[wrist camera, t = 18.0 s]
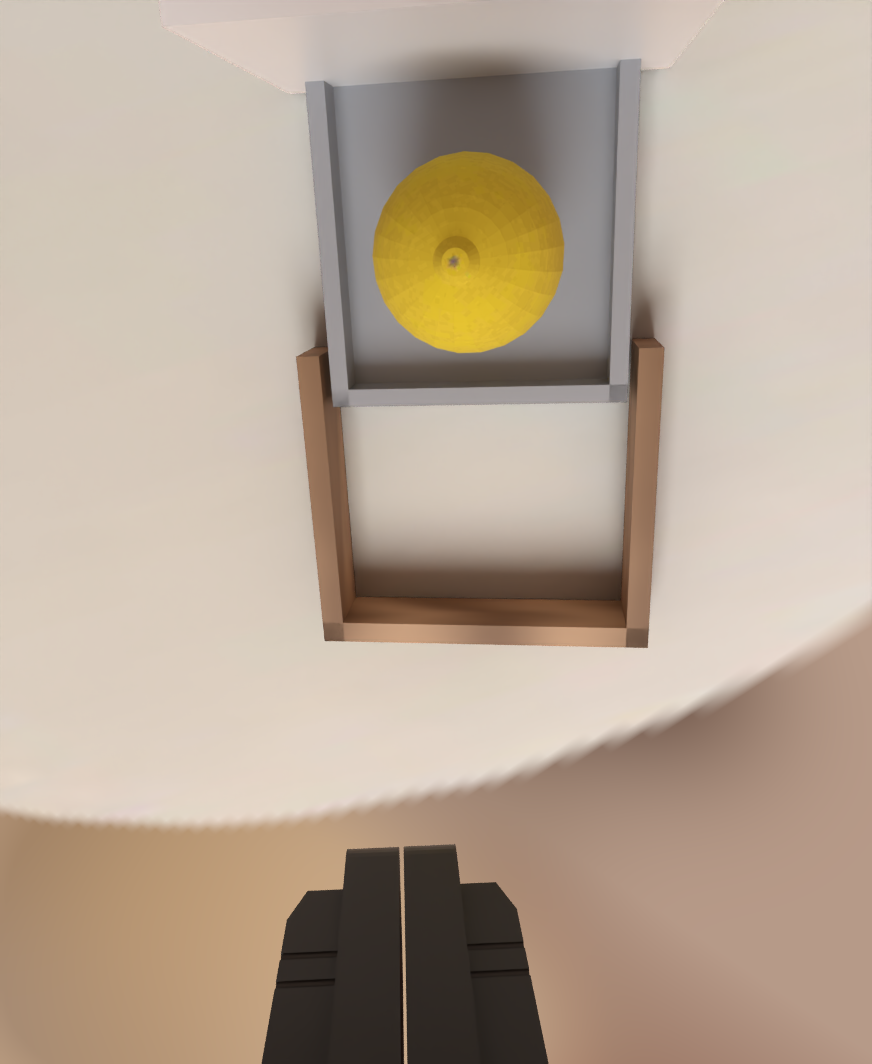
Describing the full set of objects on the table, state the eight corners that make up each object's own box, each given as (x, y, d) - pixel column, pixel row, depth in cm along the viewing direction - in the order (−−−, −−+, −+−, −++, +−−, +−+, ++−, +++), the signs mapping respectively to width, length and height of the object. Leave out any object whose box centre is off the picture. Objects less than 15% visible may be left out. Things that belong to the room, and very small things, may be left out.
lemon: (485, 122, 26) (462, 83, 19) (595, 257, 27) (615, 270, 20) (364, 245, 28) (300, 254, 20) (472, 367, 29) (447, 418, 21)
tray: (317, 396, 31) (222, 467, 22) (286, 59, 27) (154, -27, 18) (652, 390, 29) (703, 465, 20) (671, 31, 25) (745, -80, 16)
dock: (338, 613, 34) (324, 640, 32) (314, 347, 30) (296, 356, 28) (640, 618, 32) (647, 647, 30) (654, 338, 29) (664, 347, 26)
